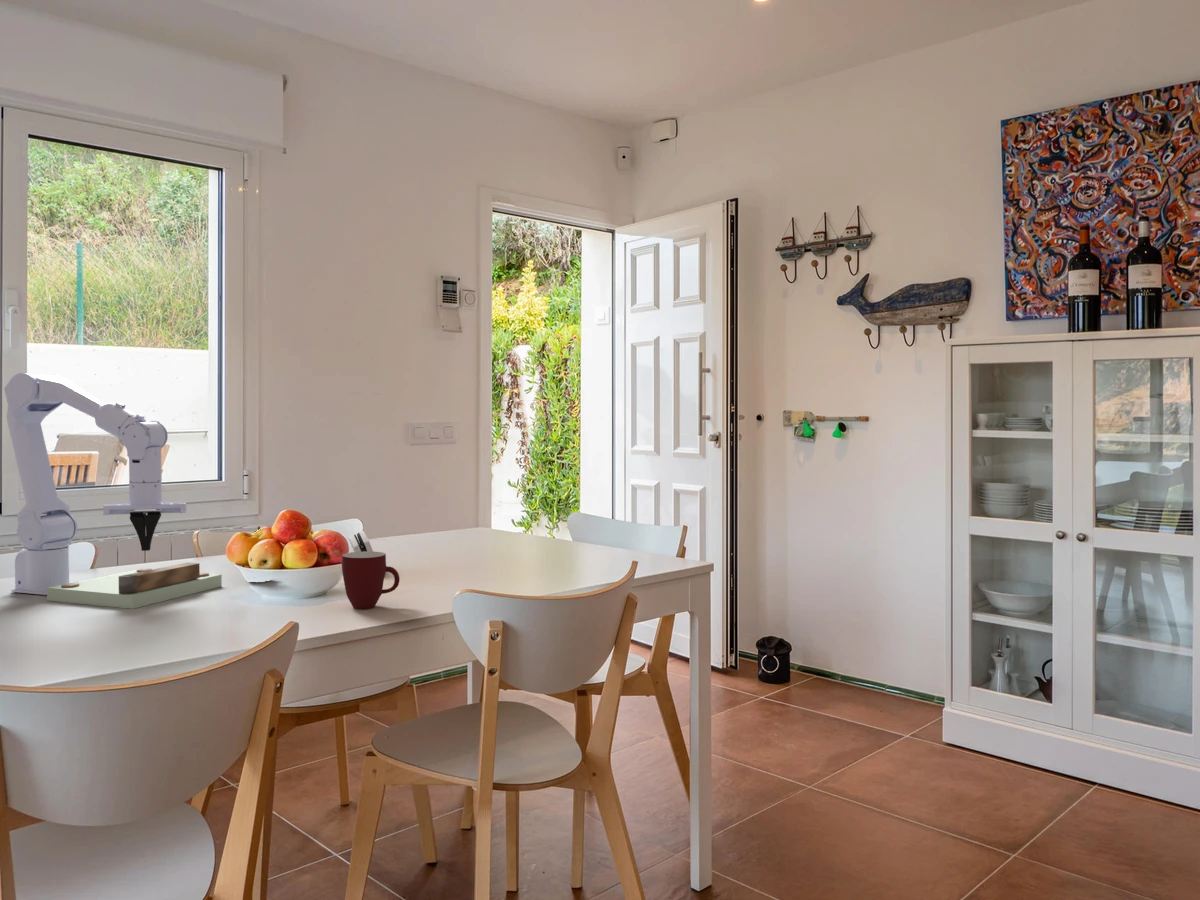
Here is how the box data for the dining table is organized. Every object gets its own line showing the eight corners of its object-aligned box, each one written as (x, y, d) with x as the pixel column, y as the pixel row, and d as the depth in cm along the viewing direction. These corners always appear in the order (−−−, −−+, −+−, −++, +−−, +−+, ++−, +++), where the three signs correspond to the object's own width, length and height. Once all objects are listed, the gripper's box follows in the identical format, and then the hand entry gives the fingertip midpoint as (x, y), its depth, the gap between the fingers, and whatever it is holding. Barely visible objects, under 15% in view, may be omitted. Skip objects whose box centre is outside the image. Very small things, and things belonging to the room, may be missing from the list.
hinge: (387, 573, 200) (371, 533, 199) (367, 582, 199) (351, 541, 197) (379, 562, 216) (364, 524, 215) (360, 569, 215) (346, 532, 213)
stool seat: (47, 600, 169) (46, 586, 169) (142, 579, 191) (142, 567, 191) (132, 608, 163) (132, 593, 162) (221, 586, 184) (221, 573, 184)
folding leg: (127, 594, 163) (127, 578, 162) (114, 592, 164) (114, 576, 164) (199, 577, 179) (199, 563, 179) (187, 576, 180) (187, 562, 180)
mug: (395, 600, 172) (395, 549, 172) (402, 608, 165) (402, 556, 164) (339, 604, 168) (339, 552, 168) (344, 613, 161) (344, 559, 160)
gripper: (100, 484, 167) (101, 554, 168) (184, 482, 173) (184, 551, 173) (106, 481, 174) (106, 549, 175) (186, 480, 179) (187, 546, 180)
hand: (146, 550), depth 174 cm, fingers closed
